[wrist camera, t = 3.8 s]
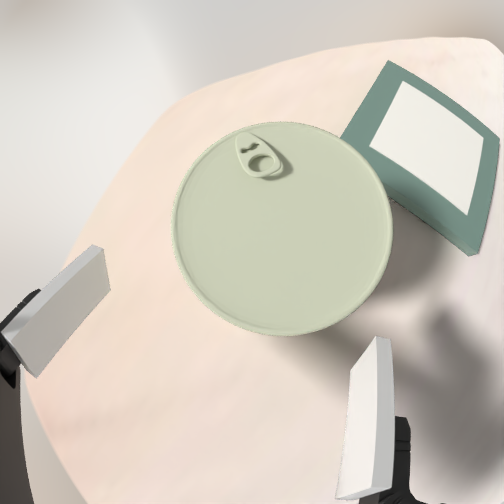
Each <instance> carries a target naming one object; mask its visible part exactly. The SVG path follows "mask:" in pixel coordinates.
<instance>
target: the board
mask: <svg viewBox="0 0 504 504" xmlns="http://www.w3.org/2000/svg"><path fill="white" fill-rule="evenodd" d="M340 138H341V139H342V140H344V141H345V142H347V143H348V144H350V145H351V146H352V147H353V148H354V149H356V150H357V151H358V152H359V153H360V154H361V155H362V156H363V157H364V158H365V159H366V160H367V161H368V162H369V164H370V165H371V166H372V168H373V169H374V171H375V172H376V174H377V175H378V177H379V178H380V180H381V182H382V184H383V186H384V189H385V191H386V193H387V196H388V197H390V198H391V199H393V200H394V201H396V202H397V203H399V204H400V205H402V206H403V207H405V208H406V209H407V210H409V211H410V212H412V213H413V214H415V215H416V216H417V217H419V218H420V219H421V220H423V221H424V222H426V223H427V224H428V225H430V226H431V227H432V228H434V229H435V230H436V231H437V232H439V233H440V234H441V235H443V236H444V237H445V238H447V239H448V240H449V241H450V242H452V243H453V244H454V245H455V246H457V247H458V248H459V249H460V250H461V251H463V252H464V253H465V254H466V255H467V256H472V255H475V254H477V253H478V251H479V247H480V244H481V240H482V237H483V233H484V229H485V225H486V221H487V217H488V212H489V208H490V203H491V198H492V193H493V187H494V181H495V175H496V168H497V160H498V151H499V141H500V138H499V137H498V136H497V135H495V134H494V133H493V132H492V131H491V130H490V129H489V128H487V127H486V126H485V125H484V124H483V123H482V122H480V121H479V120H478V119H477V118H475V117H474V116H473V115H472V114H470V113H469V112H468V111H467V110H465V109H464V108H463V107H461V106H460V105H459V104H457V103H456V102H455V101H453V100H452V99H451V98H449V97H448V96H446V95H445V94H443V93H442V92H440V91H439V90H438V89H436V88H435V87H433V86H431V85H430V84H428V83H427V82H425V81H424V80H422V79H420V78H419V77H417V76H415V75H414V74H412V73H410V72H409V71H407V70H405V69H404V68H402V67H400V66H398V65H396V64H395V63H393V62H391V61H389V60H388V61H387V63H386V64H385V66H384V68H383V69H382V71H381V73H380V74H379V76H378V77H377V79H376V81H375V82H374V84H373V86H372V87H371V89H370V90H369V92H368V94H367V95H366V97H365V99H364V100H363V102H362V103H361V105H360V107H359V108H358V110H357V112H356V113H355V115H354V116H353V118H352V120H351V121H350V123H349V124H348V126H347V128H346V129H345V131H344V132H343V134H342V136H341V137H340Z"/></svg>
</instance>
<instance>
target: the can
mask: <svg viewBox="0 0 504 504" xmlns="http://www.w3.org/2000/svg"><path fill="white" fill-rule="evenodd" d="M171 238H172V246H173V251H174V255H175V258H176V261H177V264H178V266H179V269H180V271H181V273H182V275H183V277H184V279H185V281H186V282H187V284H188V286H189V287H190V288H191V290H192V291H193V292H194V294H195V295H196V296H197V297H198V298H199V300H200V301H201V302H202V303H203V304H204V305H205V306H207V307H208V308H209V309H210V310H211V311H212V312H214V313H215V314H216V315H218V316H219V317H221V318H222V319H224V320H226V321H228V322H229V323H231V324H233V325H235V326H238V327H240V328H242V329H245V330H248V331H251V332H255V333H259V334H264V335H272V336H296V335H302V334H308V333H312V332H316V331H319V330H322V329H325V328H327V327H329V326H332V325H334V324H336V323H338V322H339V321H341V320H343V319H344V318H346V317H347V316H349V315H350V314H352V313H353V312H354V311H355V310H356V309H358V308H359V307H360V306H361V305H362V304H363V303H364V302H365V301H366V300H367V299H368V297H369V296H370V295H371V294H372V292H373V291H374V290H375V288H376V287H377V285H378V284H379V282H380V280H381V278H382V276H383V274H384V272H385V269H386V267H387V264H388V261H389V258H390V254H391V248H392V243H393V218H392V212H391V207H390V203H389V199H388V196H387V193H386V191H385V189H384V186H383V184H382V182H381V180H380V178H379V177H378V175H377V174H376V172H375V171H374V169H373V168H372V166H371V165H370V164H369V162H368V161H367V160H366V159H365V158H364V157H363V156H362V155H361V154H360V153H359V152H358V151H357V150H356V149H354V148H353V147H352V146H351V145H350V144H348V143H347V142H345V141H344V140H342V139H341V138H339V137H337V136H335V135H333V134H331V133H330V132H327V131H325V130H322V129H320V128H317V127H314V126H310V125H306V124H301V123H294V122H267V123H261V124H256V125H252V126H248V127H244V128H242V129H239V130H237V131H234V132H232V133H230V134H228V135H226V136H225V137H223V138H221V139H220V140H218V141H217V142H215V143H214V144H212V145H211V146H210V147H209V148H207V149H206V150H205V151H204V152H203V153H202V154H201V155H200V156H199V157H198V158H197V159H196V161H195V162H194V163H193V164H192V166H191V167H190V168H189V170H188V171H187V173H186V175H185V176H184V178H183V180H182V182H181V184H180V186H179V188H178V191H177V194H176V197H175V200H174V205H173V209H172V216H171Z"/></svg>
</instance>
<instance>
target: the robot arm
mask: <svg viewBox="0 0 504 504" xmlns="http://www.w3.org/2000/svg"><path fill="white" fill-rule="evenodd" d="M110 290H111V289H110V284H109V279H108V273H107V267H106V262H105V255H104V249H103V248H100V247H97V246H95V245H91V246H90V247H89V248H88V249H87V250H85V251H84V252H83V253H82V254H81V255H80V256H78V257H77V258H76V259H75V260H74V261H73V262H72V263H70V264H69V265H68V266H67V267H66V268H65V269H64V270H63V271H62V272H60V273H59V274H58V275H57V276H56V277H55V278H54V279H53V280H52V281H51V282H50V283H49V284H48V285H46V286H45V287H44V288H43V289H42V290H40V289H37V290H35V291H33V292H31V293H30V294H29V295H28V296H26V297H25V298H24V299H23V301H22V302H20V304H18V306H17V308H15V309H14V310H12V312H11V313H10V314H9V315H8V316H7V317H6V318H5V319H4V320H3V321H2V322H1V323H0V504H34V501H33V497H32V493H31V489H30V484H29V479H28V473H27V468H26V461H25V455H24V447H23V437H22V426H21V407H20V367H19V365H20V364H21V363H22V365H23V366H24V368H25V369H26V370H27V371H28V372H29V373H30V374H32V375H33V376H34V377H35V378H36V379H37V377H38V376H39V375H40V373H41V372H42V371H43V370H44V368H45V367H46V366H47V364H48V363H49V362H50V361H51V359H52V358H53V357H54V356H55V354H56V353H57V352H58V351H59V349H60V348H61V347H62V346H63V344H64V343H65V342H66V341H67V340H68V338H69V337H70V336H71V335H72V334H73V332H74V331H75V330H76V329H77V328H78V326H79V325H80V324H81V323H82V322H83V321H84V319H85V318H86V317H87V316H88V315H89V314H90V313H91V311H92V310H93V309H94V308H95V307H96V306H97V305H98V304H99V302H100V301H101V300H102V299H103V298H104V297H105V296H106V295H107V294H108V292H109V291H110ZM410 441H411V431H410V426H409V424H408V421H407V419H406V418H405V417H397V416H395V400H394V375H393V360H392V348H391V339H387V338H383V337H379V336H375V338H374V339H373V340H372V342H371V343H370V345H369V346H368V348H367V349H366V350H365V352H364V353H363V354H362V356H361V357H360V358H359V360H358V361H357V362H356V364H355V365H354V366H353V368H352V369H351V370H350V385H349V398H348V410H347V420H346V429H345V438H344V445H343V453H342V460H341V466H340V473H339V479H338V484H337V490H336V495H335V499H339V500H356V499H359V498H360V499H359V504H426V503H423V502H420V501H418V500H416V499H415V498H414V496H413V495H412V494H411V493H410V489H409V478H410V450H411V443H410ZM441 504H444V503H441Z"/></svg>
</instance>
